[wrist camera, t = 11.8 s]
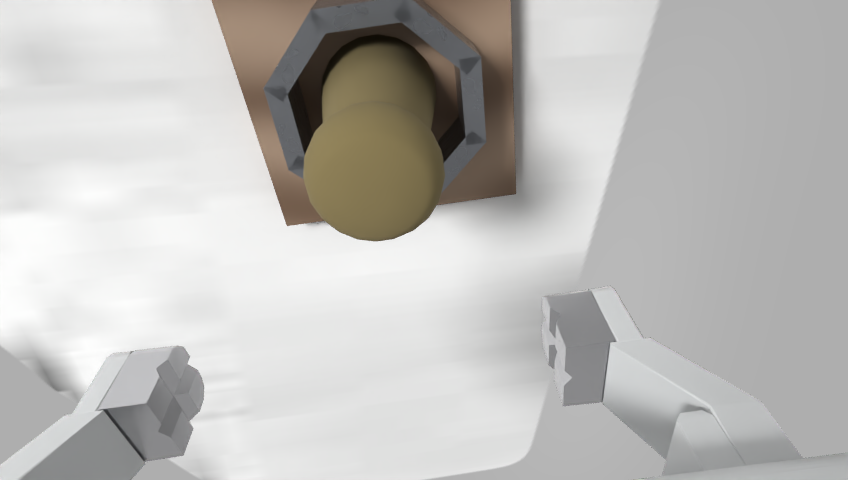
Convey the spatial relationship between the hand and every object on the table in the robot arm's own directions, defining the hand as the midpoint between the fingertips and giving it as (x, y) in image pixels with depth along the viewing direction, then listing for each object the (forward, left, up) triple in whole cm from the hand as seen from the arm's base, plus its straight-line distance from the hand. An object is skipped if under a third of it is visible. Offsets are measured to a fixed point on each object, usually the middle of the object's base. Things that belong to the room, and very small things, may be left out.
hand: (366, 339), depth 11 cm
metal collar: (0, 0, -18) cm, 18 cm away
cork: (0, 0, -18) cm, 18 cm away
